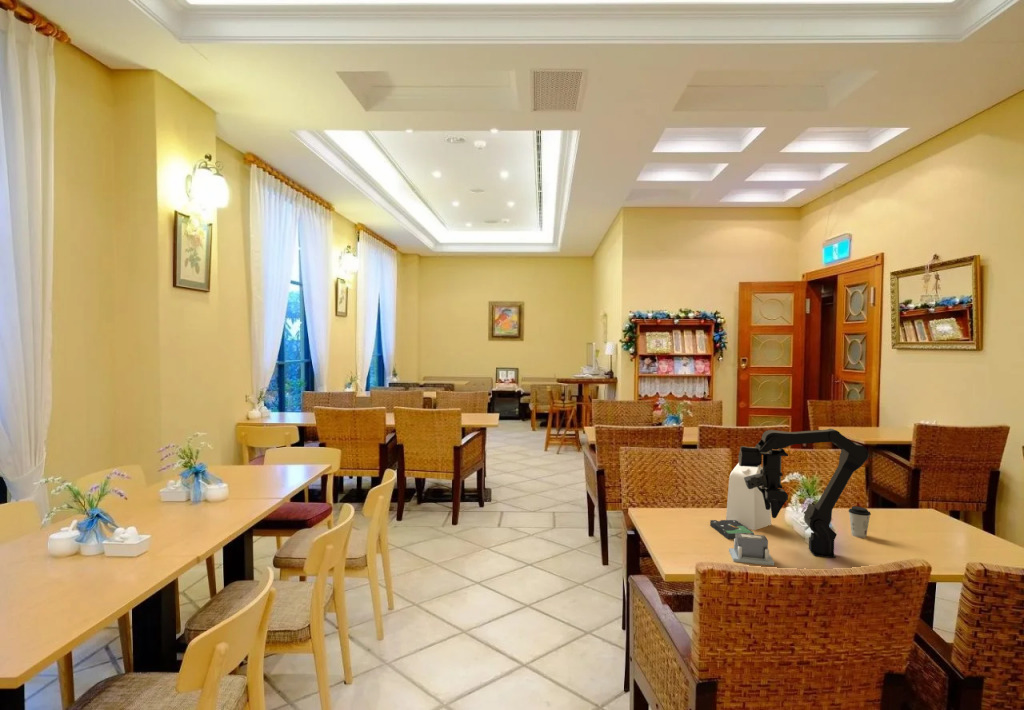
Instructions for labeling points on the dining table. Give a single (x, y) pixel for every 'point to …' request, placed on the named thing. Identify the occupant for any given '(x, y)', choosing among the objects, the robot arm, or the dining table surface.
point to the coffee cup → (859, 521)
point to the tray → (739, 558)
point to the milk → (746, 500)
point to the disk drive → (729, 528)
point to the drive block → (751, 545)
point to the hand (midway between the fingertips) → (770, 513)
